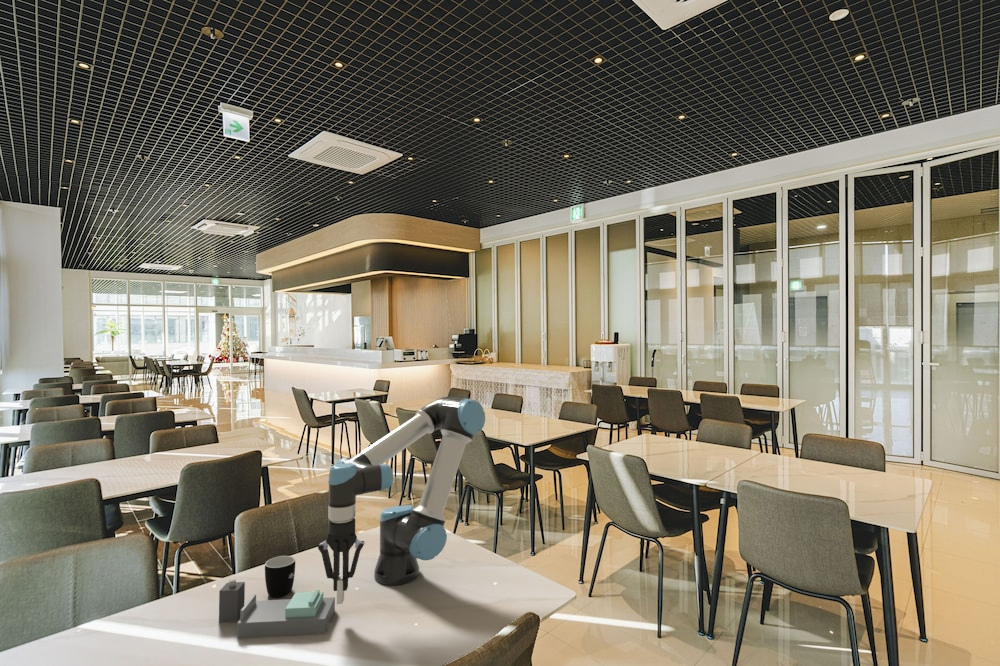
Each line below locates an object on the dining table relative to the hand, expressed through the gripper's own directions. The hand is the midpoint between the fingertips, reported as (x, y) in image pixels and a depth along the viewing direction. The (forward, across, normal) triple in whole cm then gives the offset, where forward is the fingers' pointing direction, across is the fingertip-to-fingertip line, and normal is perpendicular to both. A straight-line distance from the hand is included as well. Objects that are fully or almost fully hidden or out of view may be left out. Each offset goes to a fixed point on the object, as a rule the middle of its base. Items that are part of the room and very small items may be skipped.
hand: (340, 601), depth 144 cm
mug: (+6, +23, -20) cm, 31 cm away
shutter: (+2, +10, 0) cm, 10 cm away
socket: (+6, +14, 0) cm, 15 cm away
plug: (+6, +32, -5) cm, 33 cm away
